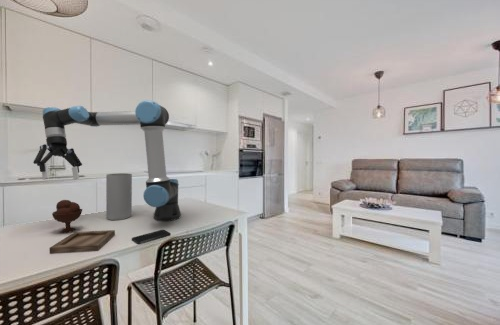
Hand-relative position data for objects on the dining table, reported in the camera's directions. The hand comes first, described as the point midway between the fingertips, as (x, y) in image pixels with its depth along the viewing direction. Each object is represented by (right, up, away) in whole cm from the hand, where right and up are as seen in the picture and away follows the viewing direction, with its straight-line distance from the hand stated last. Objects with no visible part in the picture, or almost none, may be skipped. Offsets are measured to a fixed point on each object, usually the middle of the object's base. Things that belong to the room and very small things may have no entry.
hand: (62, 179), depth 103 cm
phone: (+46, -27, -6) cm, 54 cm away
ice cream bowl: (+5, -25, -2) cm, 25 cm away
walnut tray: (+23, -26, -15) cm, 37 cm away
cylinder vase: (+15, -24, +21) cm, 35 cm away
